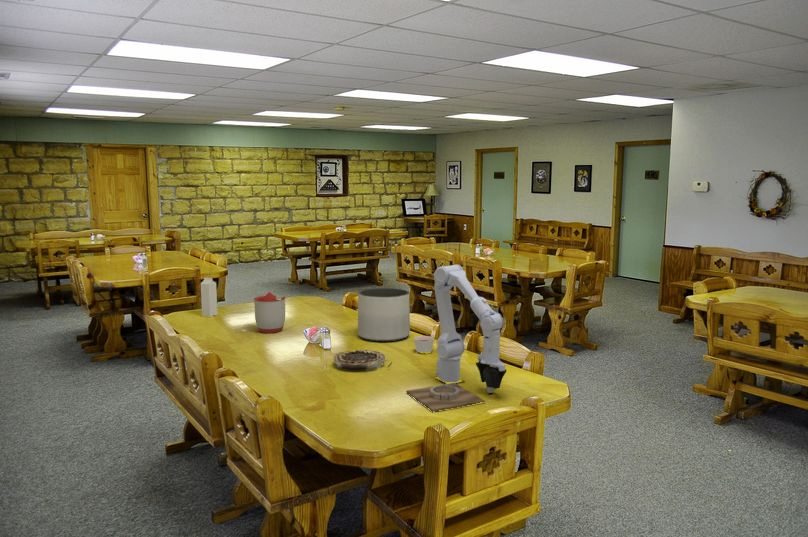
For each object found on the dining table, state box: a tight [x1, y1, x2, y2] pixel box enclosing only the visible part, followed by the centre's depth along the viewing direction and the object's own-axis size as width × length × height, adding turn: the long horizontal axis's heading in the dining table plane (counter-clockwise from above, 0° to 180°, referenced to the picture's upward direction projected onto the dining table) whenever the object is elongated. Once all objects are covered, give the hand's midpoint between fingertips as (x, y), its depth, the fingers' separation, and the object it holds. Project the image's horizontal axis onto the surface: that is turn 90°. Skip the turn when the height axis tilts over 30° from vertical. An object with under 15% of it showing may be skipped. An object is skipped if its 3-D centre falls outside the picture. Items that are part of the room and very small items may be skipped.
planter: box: [357, 287, 411, 342], centre depth 289 cm, size 25×25×22 cm
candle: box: [413, 335, 435, 353], centre depth 263 cm, size 9×9×6 cm
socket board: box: [405, 383, 486, 412], centre depth 207 cm, size 20×20×1 cm
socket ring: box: [430, 384, 459, 401], centre depth 206 cm, size 10×10×2 cm
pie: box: [333, 349, 388, 372], centre depth 244 cm, size 28×27×5 cm
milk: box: [200, 276, 218, 316], centre depth 333 cm, size 6×6×22 cm
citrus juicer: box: [253, 291, 286, 334], centre depth 301 cm, size 16×17×20 cm
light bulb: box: [483, 366, 495, 394], centre depth 210 cm, size 6×6×10 cm
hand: (490, 385), depth 211 cm, fingers open, 7 cm apart
